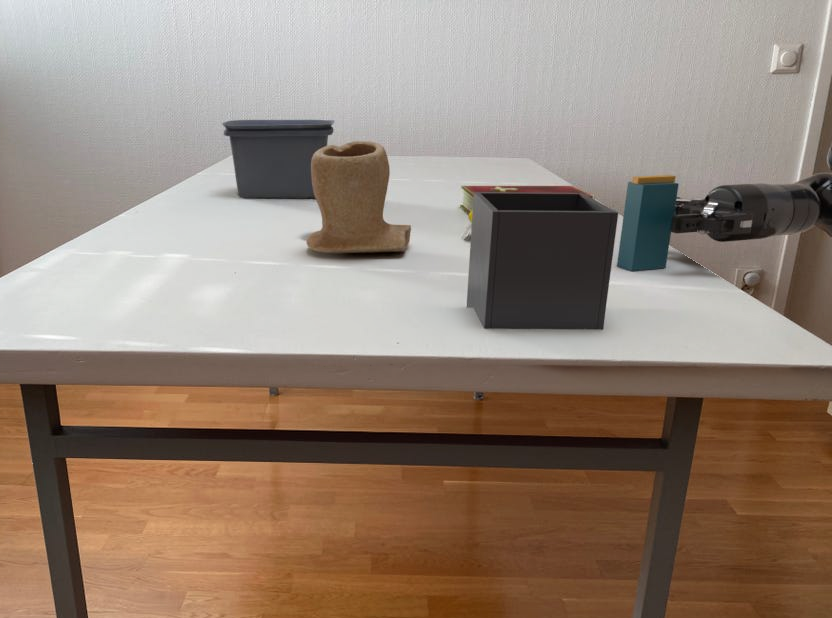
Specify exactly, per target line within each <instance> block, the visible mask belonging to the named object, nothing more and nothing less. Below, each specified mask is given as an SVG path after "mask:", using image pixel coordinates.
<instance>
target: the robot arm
mask: <svg viewBox="0 0 832 618" xmlns="http://www.w3.org/2000/svg"><path fill="white" fill-rule="evenodd" d="M826 163H827V166H828V168H829V170H830V171H831V172H826V171H825V172H818V173H815V174H813V175H810V176H807V177H805V178H802V179H800V180H798V181H796V182H793V183H779V184H771V183H761V182H760V183H742V184H741V183H740V184H739V183H738V184H723V185H718V186H717V187H714V188H713V189H712V190H710V191H709V192H708V194H706V196H705V197H704V198H703V197H691V198H683V197H680V196H677V198H676V205H675V211H674V216H673V217H672V222H671V228H670V231H671V233H674V234H686V233H687V234H689V233H698V234H700V235H707V236H708V237H709V239H712V240H713V241H715V242H719V243H726V242H738V241H749V240H750V241H751V240H762V239H766V238H771V237H779V236H780V237H781V236H788V235H789V236H790V235H797V234H802V233H804V232H807V231H809V230H810V229H812V228H813V227H814V226H816V227H817V228H818V229H820V230H821V231H822V232H824V234H826V235H827V236H829V237H830V238H832V142H831V144H830V146H829V149H828V152H827V155H826Z"/></svg>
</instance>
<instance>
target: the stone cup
mask: <svg viewBox="0 0 832 618" xmlns="http://www.w3.org/2000/svg"><path fill="white" fill-rule="evenodd" d="M390 170H391V169H390V164H389V158H388V155H387V151H386V149H385V147H384V146H383V145H381V144H380V143H378V142H375V141H369V140H368V141H367V140H365V141H364V140H354V141H353V140H352V141H349V142H347V143H345V144H342V145H336V144H335V145H334V144H327V146H325V147H323V148H321V149H319V150H318V151H316V152H315V153H314V155H313V157H312V160H311V176H312V186H313V191H314V195H315V197H314V198H315V200H316V204H317V206H318V208H319V211H320V212H319V213H320V215H321V225H322V226H321V229H320V230H317V231H315V232H313V233H311V234H309V236H307V238H306V243H305V244H306V245H307V247H308V248H309V249H311V250H312V251H315V252H319V253H326V254H367V253H368V254H369V253H372V254H373V253H392V252H393V253H394V252H395V253H396V252H405V251H406V250H407V247H408V246H409V244H410V241H411V231H412V225H410V224H393V223H392V224H391V223H388V222H386V221H385V220H384V208H385V203H386V197H387V193H388V187H389V181H390V175H391V174H390V173H391V171H390Z"/></svg>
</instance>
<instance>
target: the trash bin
mask: <svg viewBox="0 0 832 618" xmlns="http://www.w3.org/2000/svg"><path fill="white" fill-rule="evenodd" d="M618 219H619V212H618V211H616V210H614V209H613V208H611V207H609V206H608V205H605V204H604V203H602V202H600V201H598V200H597V199H595V200H594V199H593V198H591V197H589V196H587V195H585V194H583V193H519V192H474V199H473V214H472V229H471V231H470V245H469V247H470V248H469V259H468V260H469V262H468V278H467V293H466V296H467V297H466V306H465V307H466V308H467V309H471V308H472V309H473V310H474V312H475V313H476V316H477V317H478V320H479V321H480V323H481V325H482V327H483V329H485V330H488V329H489V330H490V329H491V330H494V329H495V330H597V331H598V330H600V331H601V330H602V331H603V330H604V325H605V318H606V312H607V311H606V309H607V303H608V294H609V288H610V280H611V272H612V264H613V263H612V262H613V256H614V249H615V244H616V243H615V242H616V234H617V227H618Z"/></svg>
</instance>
